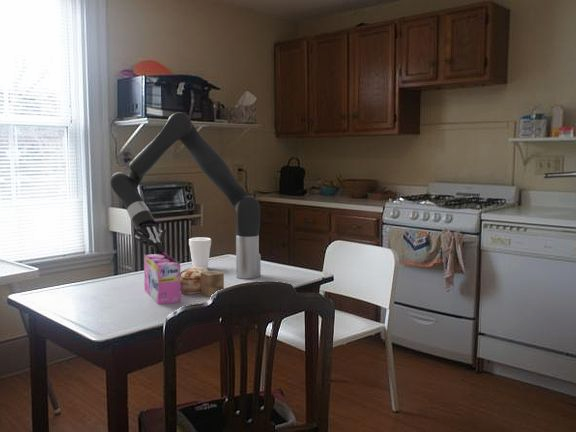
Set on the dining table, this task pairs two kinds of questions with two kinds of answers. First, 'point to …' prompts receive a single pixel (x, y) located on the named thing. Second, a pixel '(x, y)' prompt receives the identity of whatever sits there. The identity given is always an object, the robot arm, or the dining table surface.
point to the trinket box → (191, 280)
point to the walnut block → (211, 282)
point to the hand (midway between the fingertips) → (160, 252)
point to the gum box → (162, 278)
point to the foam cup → (200, 251)
